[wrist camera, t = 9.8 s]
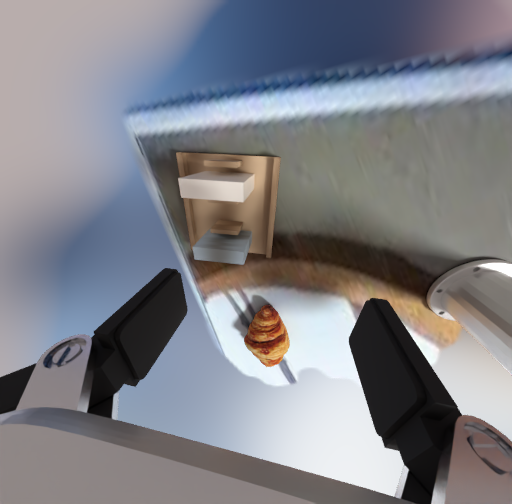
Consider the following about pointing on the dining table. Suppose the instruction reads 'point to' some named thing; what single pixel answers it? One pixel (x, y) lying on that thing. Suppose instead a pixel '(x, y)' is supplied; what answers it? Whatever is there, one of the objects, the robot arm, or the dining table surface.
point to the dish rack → (232, 209)
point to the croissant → (267, 337)
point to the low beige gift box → (217, 186)
